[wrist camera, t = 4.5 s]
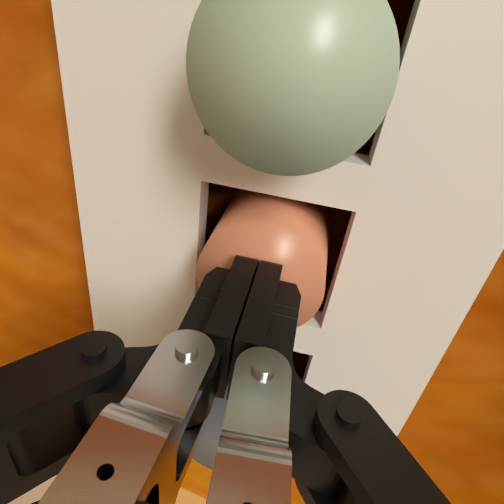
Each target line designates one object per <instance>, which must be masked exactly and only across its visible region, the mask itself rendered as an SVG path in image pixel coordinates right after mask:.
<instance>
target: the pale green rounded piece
mask: <svg viewBox="0 0 504 504" xmlns="http://www.w3.org/2000/svg"><path fill="white" fill-rule="evenodd" d="M399 66H400V44H399V37H398V30H397V26H396V23H395V19H394V16H393V13H392V10H391V8H390V6H389V4H388V1H387V0H201V2H200V4H199V6H198V8H197V11H196V13H195V15H194V18H193V21H192V24H191V27H190V31H189V36H188V41H187V50H186V75H187V82H188V88H189V92H190V96H191V99H192V102H193V105H194V108H195V110H196V113H197V115H198V117H199V119H200V120H201V122H202V124H203V126H204V127H205V129H206V130H207V132H208V133H209V135H210V136H211V137H212V138H213V140H214V141H215V142H216V143H217V144H218V145H219V146H220V147H221V148H222V149H223V150H224V151H225V152H226V153H227V154H229V155H230V156H231V157H233V158H234V159H236V160H237V161H239V162H240V163H242V164H244V165H246V166H248V167H250V168H253V169H255V170H258V171H260V172H264V173H268V174H272V175H280V176H301V175H308V174H312V173H317V172H320V171H323V170H326V169H328V168H331V167H333V166H335V165H337V164H339V163H340V162H342V161H344V160H345V159H347V158H348V157H350V156H351V155H353V154H354V153H355V152H356V151H357V150H359V149H360V148H361V147H362V146H363V145H364V144H365V143H366V142H367V141H368V140H369V138H370V137H371V136H372V135H373V134H374V133H375V131H376V130H377V128H378V127H379V125H380V124H381V122H382V121H383V119H384V117H385V115H386V113H387V111H388V109H389V107H390V104H391V101H392V99H393V96H394V93H395V89H396V85H397V81H398V75H399Z"/></svg>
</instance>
